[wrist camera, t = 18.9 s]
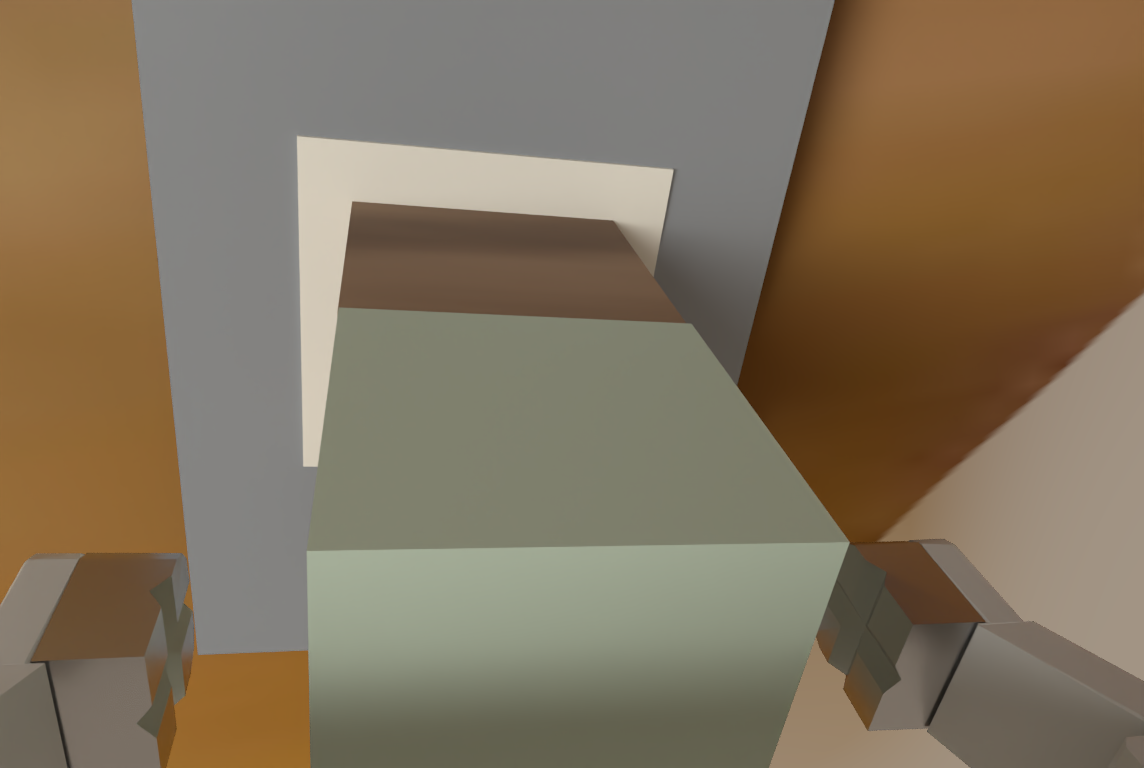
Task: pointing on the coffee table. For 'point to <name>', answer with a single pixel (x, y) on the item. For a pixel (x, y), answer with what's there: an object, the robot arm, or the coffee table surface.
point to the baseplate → (425, 205)
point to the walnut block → (496, 265)
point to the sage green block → (553, 550)
